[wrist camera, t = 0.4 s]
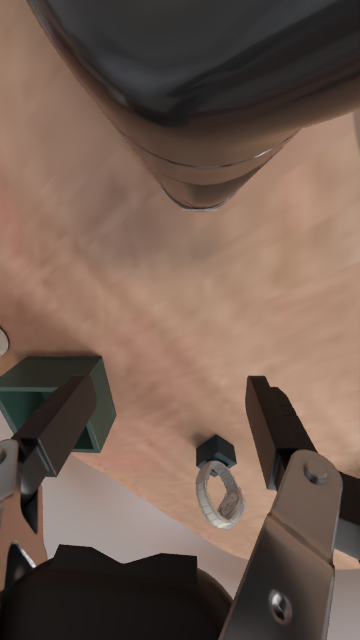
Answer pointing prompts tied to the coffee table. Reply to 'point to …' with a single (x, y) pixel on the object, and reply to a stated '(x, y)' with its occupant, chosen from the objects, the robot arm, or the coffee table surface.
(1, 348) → the can
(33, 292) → the coffee table surface
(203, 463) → the watch
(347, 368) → the coffee table surface
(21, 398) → the bin
